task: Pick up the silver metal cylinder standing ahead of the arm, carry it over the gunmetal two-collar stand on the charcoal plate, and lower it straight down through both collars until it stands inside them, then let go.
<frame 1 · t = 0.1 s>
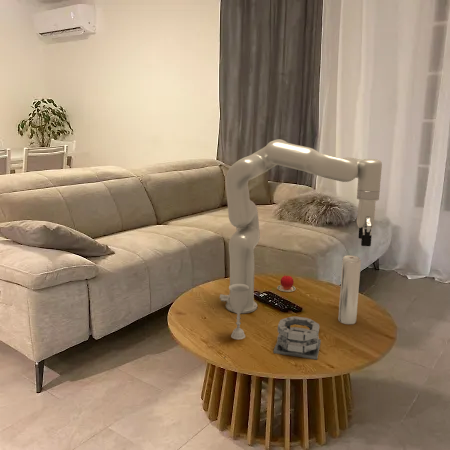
hand: (364, 242, 168), 31 cm above the table, fingers open, 9 cm apart
silver metal cylinder: (347, 321, 177), on the table
chalice: (238, 336, 164), on the table
apple: (286, 289, 207), on the table
collar stand: (297, 347, 156), on the table
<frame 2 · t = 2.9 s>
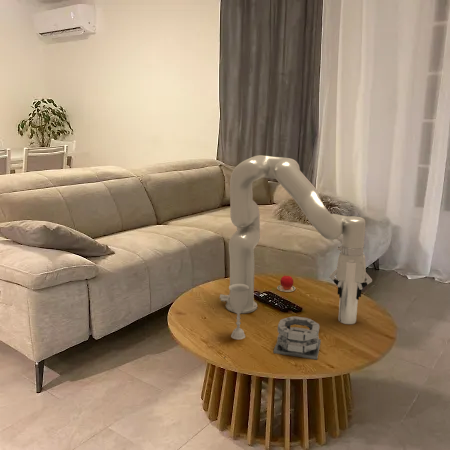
hand: (349, 296, 174), 10 cm above the table, fingers closed on silver metal cylinder, 5 cm apart
silver metal cylinder: (347, 321, 177), on the table, touching gripper
everything else where it was.
when the fingers open (11 cm above the table, at t = 9.4 s): silver metal cylinder stays where it is, resting on collar stand.
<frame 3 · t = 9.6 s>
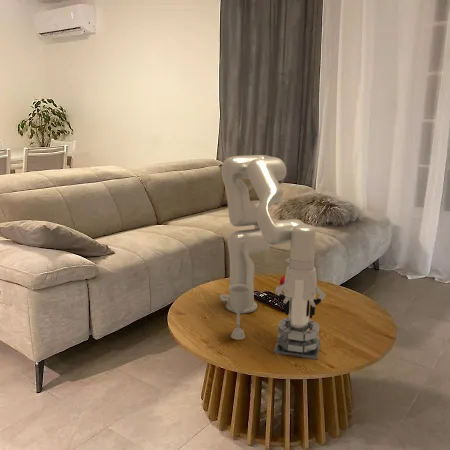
hand: (299, 314, 154), 12 cm above the table, fingers open, 7 cm apart
silver metal cylinder: (297, 345, 156), point 1 cm above the table, touching collar stand
everything else where it was.
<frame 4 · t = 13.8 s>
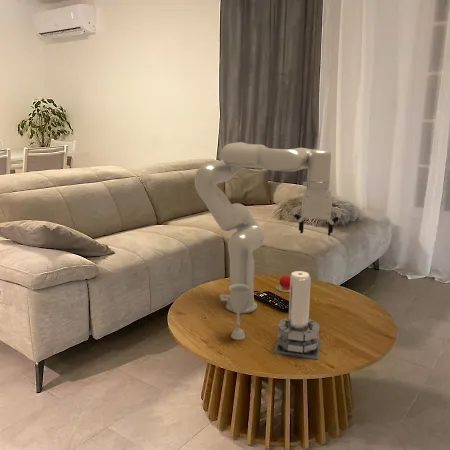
hand: (315, 233, 166), 34 cm above the table, fingers open, 9 cm apart
nothing on the table moved.
at the end: silver metal cylinder 0.1 cm off-centre on the collar stand, point 0.8 cm above the collar stand's base; silver metal cylinder tilted 0°; the gripper is holding nothing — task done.
